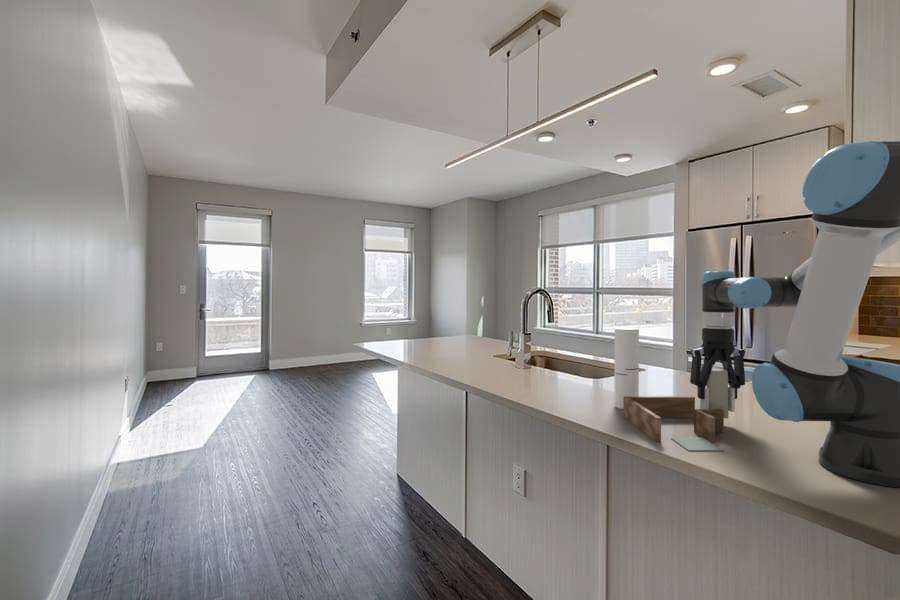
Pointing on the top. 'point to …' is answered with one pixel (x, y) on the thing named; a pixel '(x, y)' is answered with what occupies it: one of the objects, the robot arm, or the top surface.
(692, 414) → the wooden u-shaped enclosure
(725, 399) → the box
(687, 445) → the pad
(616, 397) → the cylindrical container
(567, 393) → the top surface
